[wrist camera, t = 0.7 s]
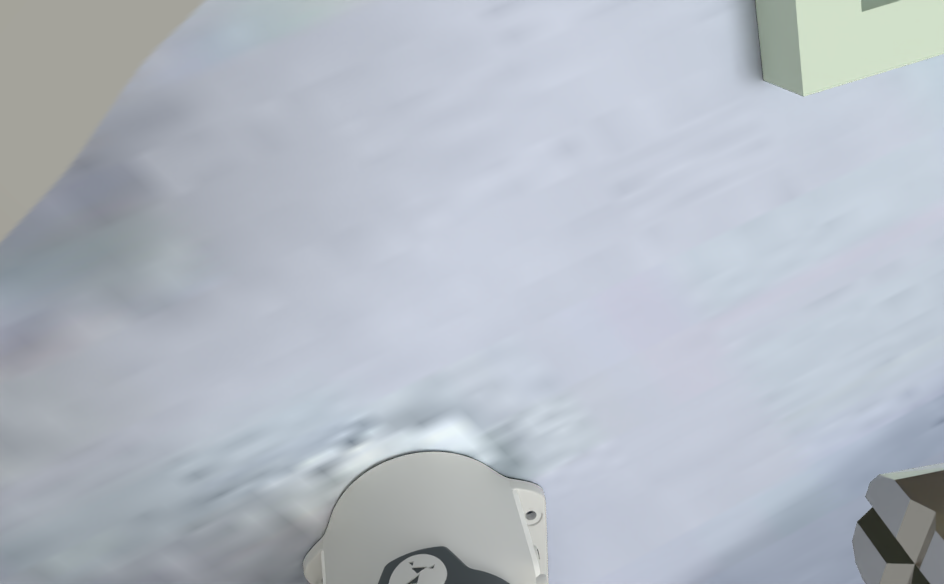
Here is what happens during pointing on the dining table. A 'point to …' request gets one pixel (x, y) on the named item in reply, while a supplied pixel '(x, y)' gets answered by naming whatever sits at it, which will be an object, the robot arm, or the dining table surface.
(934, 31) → the hole block
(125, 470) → the dining table surface
